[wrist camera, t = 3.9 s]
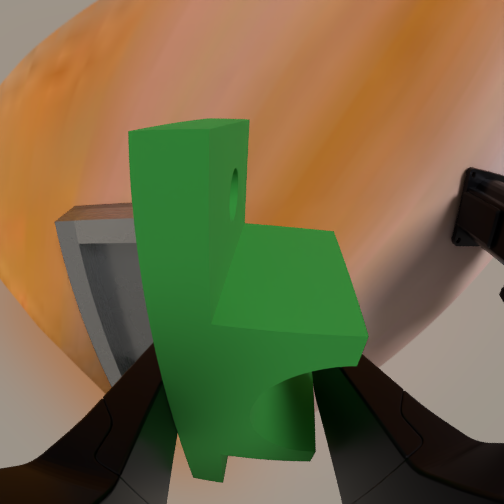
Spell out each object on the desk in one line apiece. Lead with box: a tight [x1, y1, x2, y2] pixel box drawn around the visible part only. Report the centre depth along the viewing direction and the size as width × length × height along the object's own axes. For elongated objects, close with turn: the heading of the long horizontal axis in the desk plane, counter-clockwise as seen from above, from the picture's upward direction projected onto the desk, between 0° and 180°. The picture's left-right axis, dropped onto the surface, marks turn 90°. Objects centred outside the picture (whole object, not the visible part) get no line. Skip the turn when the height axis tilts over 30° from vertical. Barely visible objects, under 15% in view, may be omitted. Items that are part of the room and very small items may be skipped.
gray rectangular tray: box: [55, 203, 153, 387], centre depth 21 cm, size 10×17×3 cm, turn 179°
